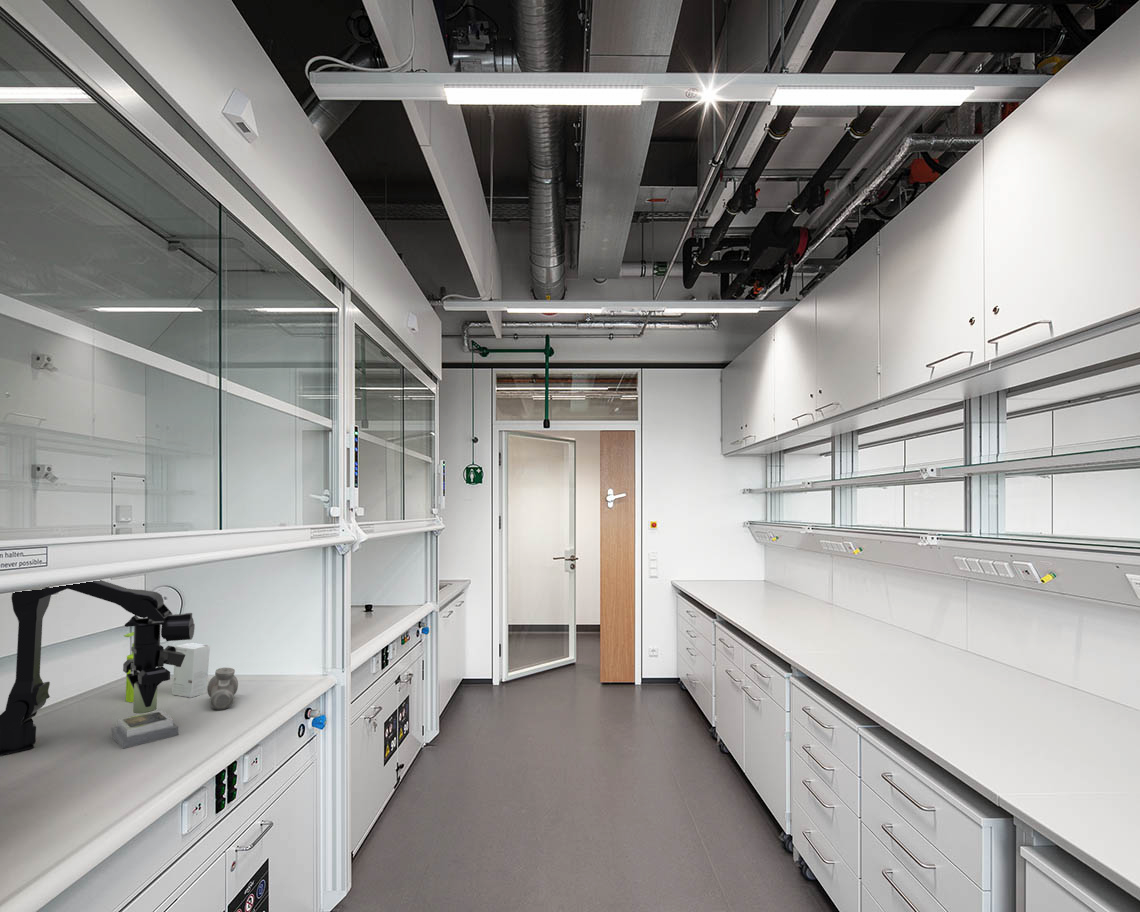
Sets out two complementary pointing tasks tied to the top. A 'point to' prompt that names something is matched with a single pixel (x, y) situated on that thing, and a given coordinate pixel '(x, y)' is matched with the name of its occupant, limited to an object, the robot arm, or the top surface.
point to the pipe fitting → (222, 688)
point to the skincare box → (191, 670)
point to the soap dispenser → (128, 685)
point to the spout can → (139, 704)
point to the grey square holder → (143, 729)
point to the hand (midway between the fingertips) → (145, 704)
